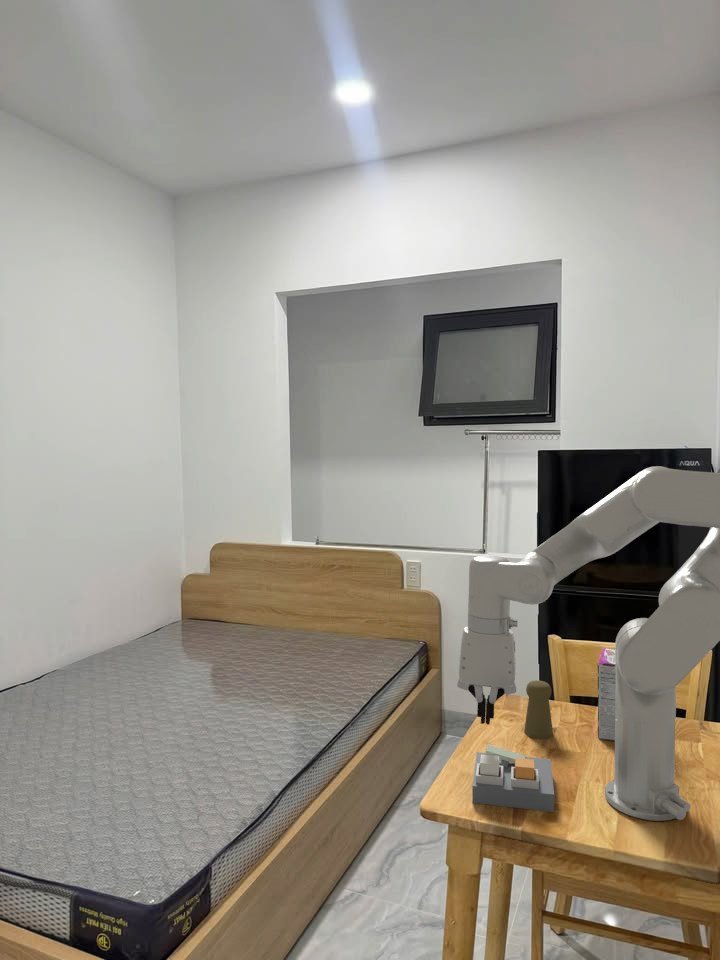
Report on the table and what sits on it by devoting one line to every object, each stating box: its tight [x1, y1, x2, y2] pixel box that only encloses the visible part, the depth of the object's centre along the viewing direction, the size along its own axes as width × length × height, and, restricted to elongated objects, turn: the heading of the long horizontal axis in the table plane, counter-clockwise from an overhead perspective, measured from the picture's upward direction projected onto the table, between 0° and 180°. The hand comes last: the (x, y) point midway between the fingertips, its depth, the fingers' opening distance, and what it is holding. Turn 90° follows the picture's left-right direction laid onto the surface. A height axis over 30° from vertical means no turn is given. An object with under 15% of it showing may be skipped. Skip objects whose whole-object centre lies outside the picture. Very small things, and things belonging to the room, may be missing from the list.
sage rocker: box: [485, 743, 526, 764], centre depth 124 cm, size 7×3×1 cm, turn 77°
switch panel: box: [471, 752, 555, 813], centre depth 121 cm, size 14×13×4 cm
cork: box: [523, 680, 554, 740], centre depth 144 cm, size 6×6×11 cm
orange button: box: [515, 758, 534, 779], centre depth 117 cm, size 3×3×2 cm
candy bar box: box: [597, 647, 616, 742], centre depth 144 cm, size 11×5×16 cm, turn 155°
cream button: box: [480, 755, 499, 776], centre depth 119 cm, size 3×3×2 cm
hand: (485, 721), depth 124 cm, fingers closed
